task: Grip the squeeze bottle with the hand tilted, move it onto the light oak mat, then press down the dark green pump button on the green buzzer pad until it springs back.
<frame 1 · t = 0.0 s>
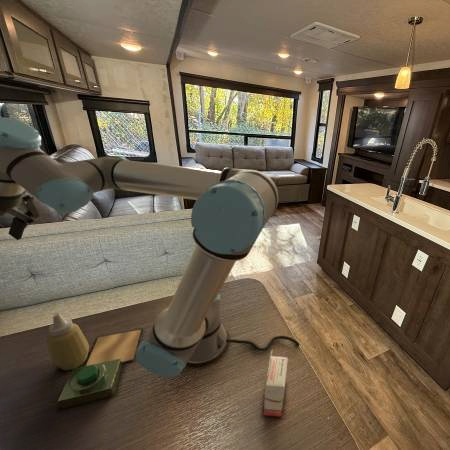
ink cartridge box: (274, 399, 68), on the table
squeeze bottle: (74, 362, 73), on the table
pump button: (87, 374, 64), point 6 cm above the table, slide at 0.1 cm
oak mat: (115, 348, 78), on the table
green buzzer pad: (94, 385, 67), on the table
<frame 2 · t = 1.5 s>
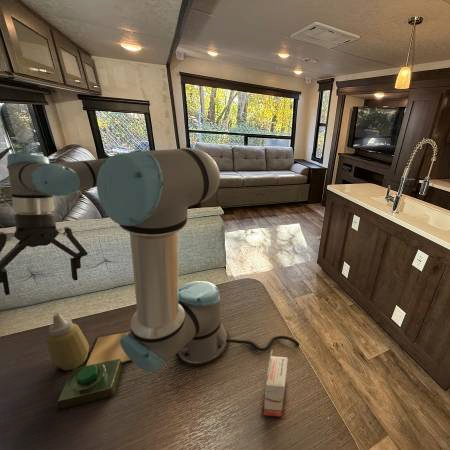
hand: (43, 285, 71), 21 cm above the table, tool pointing down, fingers open, 13 cm apart
nothing on the table moved.
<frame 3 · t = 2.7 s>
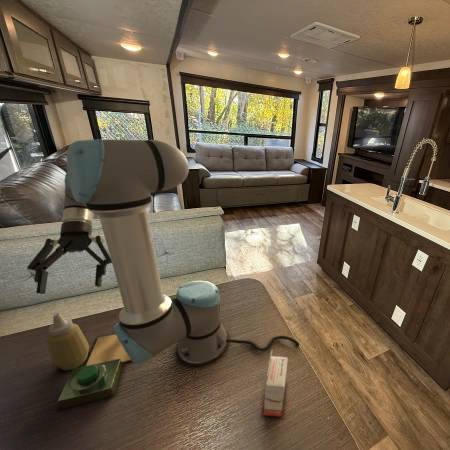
hand: (70, 289, 74), 19 cm above the table, tool tilted 45°, fingers open, 13 cm apart
nothing on the table moved.
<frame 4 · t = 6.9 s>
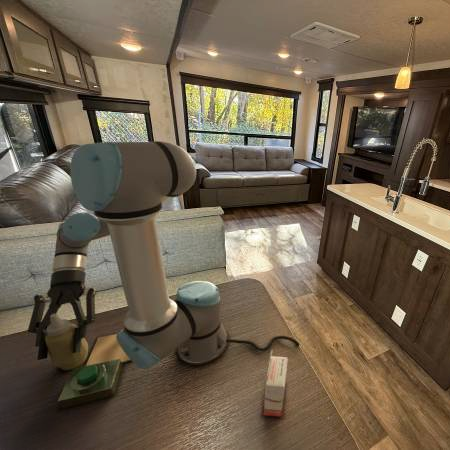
hand: (59, 355, 67), 7 cm above the table, tool tilted 45°, fingers closed on squeeze bottle, 6 cm apart
squeeze bottle: (74, 361, 73), on the table, touching gripper
everything else where it was.
when the fingers open (8 cm above the table, at t = 13.9 s): squeeze bottle stays where it is, resting on oak mat.
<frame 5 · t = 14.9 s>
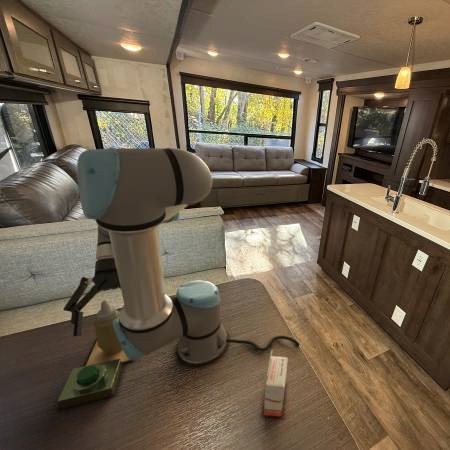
hand: (106, 330, 72), 10 cm above the table, tool tilted 45°, fingers open, 13 cm apart
squeeze bottle: (116, 347, 78), resting on oak mat
everything else where it was.
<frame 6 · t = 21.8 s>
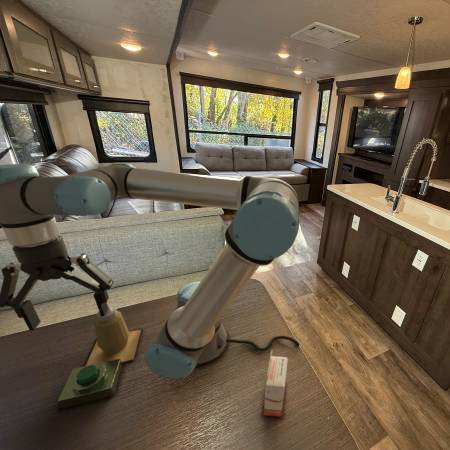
hand: (71, 319, 60), 22 cm above the table, tool pointing down, fingers open, 13 cm apart
nothing on the table moved.
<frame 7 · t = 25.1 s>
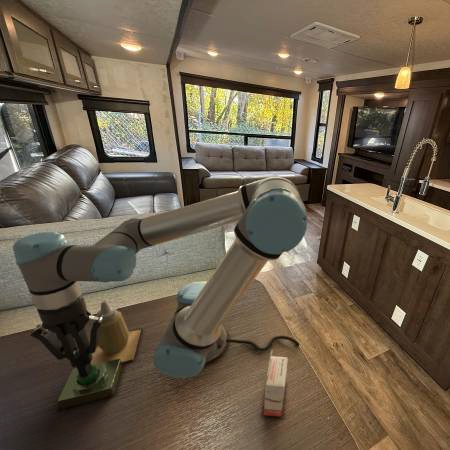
hand: (86, 372, 64), 7 cm above the table, tool pointing down, fingers closed
pump button: (88, 375, 64), point 5 cm above the table, slide at -0.1 cm, touching gripper
everything else where it was.
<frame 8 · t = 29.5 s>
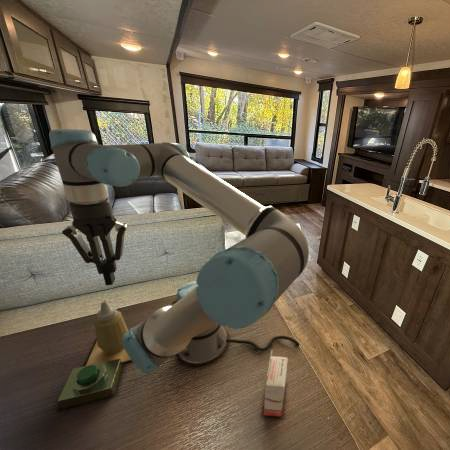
hand: (110, 282, 67), 26 cm above the table, tool pointing down, fingers closed
pump button: (87, 374, 64), point 6 cm above the table, slide at 0.1 cm
everything else where it was.
at the end: squeeze bottle inside the target area (0.5 cm from its centre), resting on oak mat; pump button pushed in 1.2 cm at the most during the clip, back to where it started at the end; pump button slide at 0.1 cm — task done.
